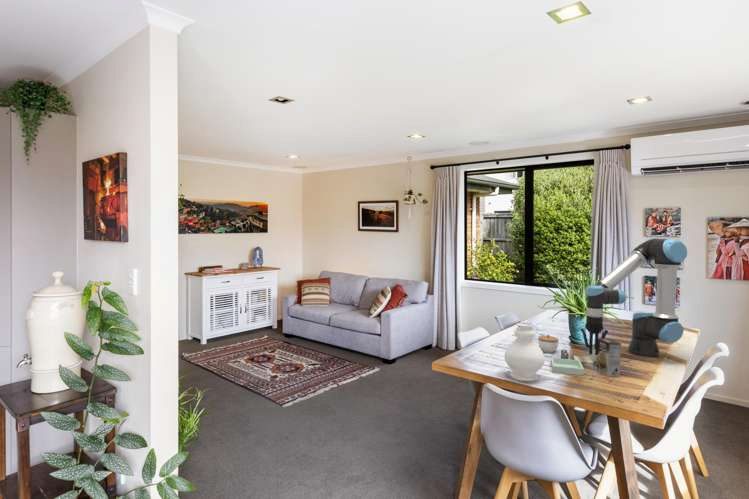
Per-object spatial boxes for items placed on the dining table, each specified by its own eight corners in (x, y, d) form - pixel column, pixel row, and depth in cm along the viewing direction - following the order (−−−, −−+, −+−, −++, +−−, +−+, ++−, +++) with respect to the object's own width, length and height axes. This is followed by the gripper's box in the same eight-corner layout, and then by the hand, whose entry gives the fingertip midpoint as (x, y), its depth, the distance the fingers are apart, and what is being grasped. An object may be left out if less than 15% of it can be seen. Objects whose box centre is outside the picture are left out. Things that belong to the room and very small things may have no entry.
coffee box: (596, 370, 216) (597, 338, 215) (608, 370, 216) (609, 337, 216) (607, 376, 207) (608, 343, 206) (620, 376, 207) (621, 342, 206)
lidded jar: (559, 354, 242) (560, 337, 242) (539, 353, 244) (540, 336, 244) (555, 349, 253) (556, 333, 252) (536, 348, 255) (536, 332, 254)
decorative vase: (506, 368, 218) (507, 319, 217) (544, 373, 211) (545, 322, 210) (502, 380, 201) (503, 326, 200) (543, 385, 195) (544, 330, 193)
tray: (579, 366, 222) (579, 360, 222) (583, 375, 208) (584, 369, 208) (550, 363, 226) (550, 357, 226) (553, 372, 212) (553, 366, 212)
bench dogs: (566, 359, 234) (566, 349, 234) (568, 364, 226) (568, 354, 225) (560, 358, 235) (560, 349, 235) (562, 363, 226) (562, 353, 226)
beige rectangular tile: (589, 361, 231) (589, 357, 231) (593, 367, 221) (593, 362, 221) (573, 360, 233) (573, 355, 233) (576, 365, 224) (576, 361, 224)
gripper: (607, 315, 226) (605, 360, 228) (579, 313, 230) (578, 357, 232) (610, 318, 219) (608, 364, 221) (581, 316, 223) (580, 361, 224)
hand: (593, 360), depth 226 cm, fingers closed
